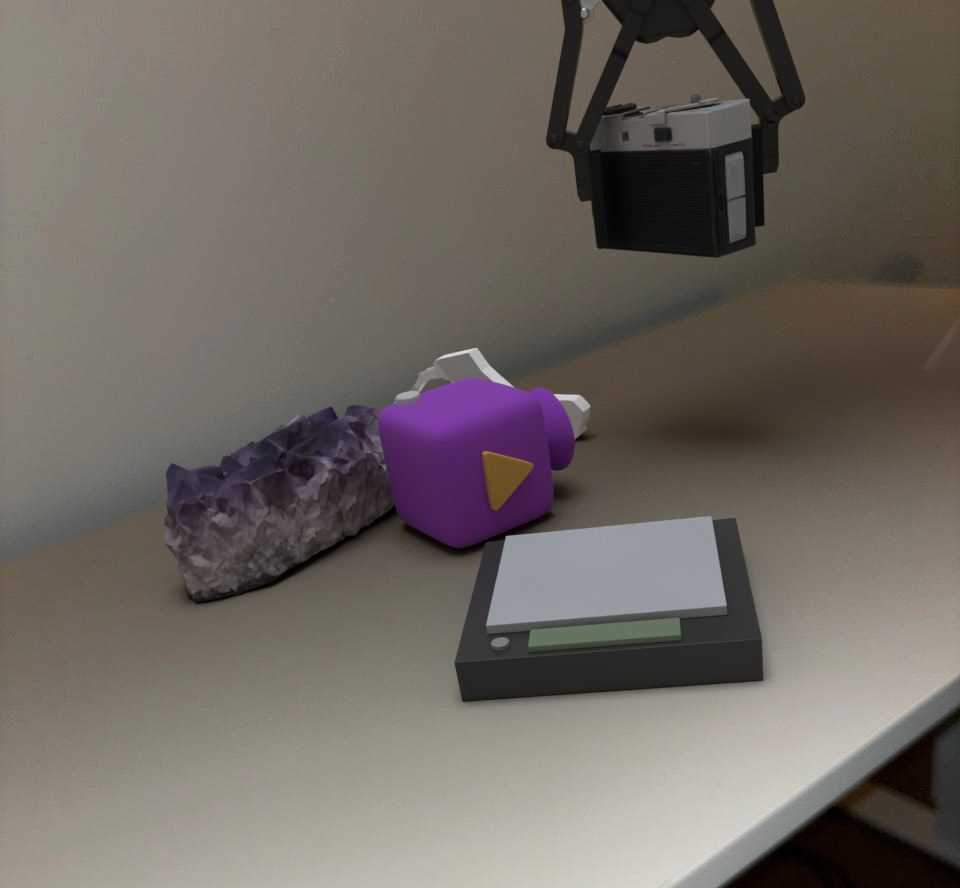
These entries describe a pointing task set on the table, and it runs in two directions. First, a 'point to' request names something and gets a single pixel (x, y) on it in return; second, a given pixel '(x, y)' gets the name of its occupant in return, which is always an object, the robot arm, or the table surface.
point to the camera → (678, 177)
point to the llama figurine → (477, 367)
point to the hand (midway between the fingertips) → (679, 234)
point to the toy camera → (474, 457)
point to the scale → (610, 611)
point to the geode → (276, 501)
